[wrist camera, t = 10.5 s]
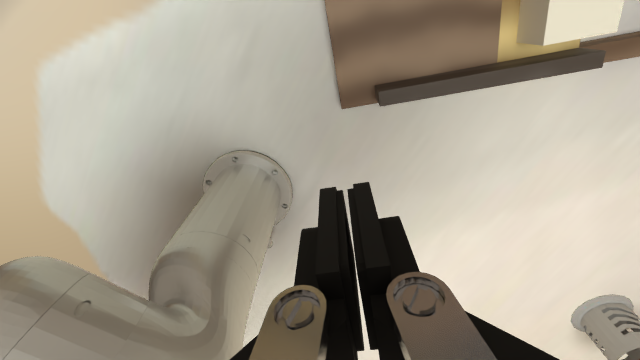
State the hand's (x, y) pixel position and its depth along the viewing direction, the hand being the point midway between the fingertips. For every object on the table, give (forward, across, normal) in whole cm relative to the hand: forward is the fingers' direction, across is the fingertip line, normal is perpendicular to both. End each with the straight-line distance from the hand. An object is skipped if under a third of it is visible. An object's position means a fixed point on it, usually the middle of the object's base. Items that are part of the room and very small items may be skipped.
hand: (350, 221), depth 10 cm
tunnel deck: (+28, -18, -4) cm, 34 cm away
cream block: (+26, -22, -4) cm, 34 cm away
